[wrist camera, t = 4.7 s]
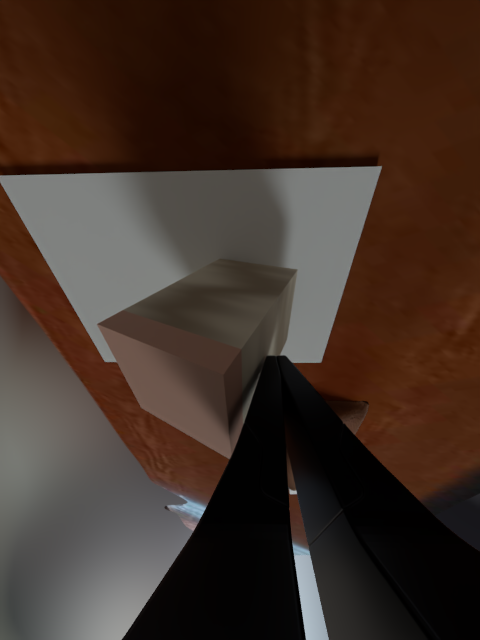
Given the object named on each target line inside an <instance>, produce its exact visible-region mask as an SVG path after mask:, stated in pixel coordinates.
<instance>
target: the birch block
mask: <svg viewBox="0 0 480 640" xmlns="http://www.w3.org/2000/svg"><path fill="white" fill-rule="evenodd" d="M297 272H298V269H291V268H284V267H276V266H269V265H262V264H255V263H248V262H240V261H233V260H226V259H218V260H216V261H214V262H212V263H210V264H209V265H207V266H205V267H203V268H201V269H199V270H197V271H195V272H194V273H192V274H190V275H188V276H186V277H184V278H182V279H180V280H179V281H177V282H175V283H173V284H171V285H169V286H167V287H165V288H164V289H162V290H160V291H158V292H156V293H154V294H152V295H150V296H149V297H147V298H145V299H143V300H141V301H139V302H137V303H135V304H134V305H132V306H130V307H128V308H126V309H124V310H122V311H120V312H118V313H117V314H115V315H113V316H111V317H109V318H107V319H105V320H103V321H102V322H100V323H98V324H97V326H98V328H99V329H100V331H101V333H102V335H103V337H104V339H105V341H106V342H107V344H108V346H109V348H110V350H111V352H112V354H113V356H114V357H115V359H116V361H117V363H118V365H119V367H120V369H121V371H122V372H123V374H124V376H125V378H126V380H127V382H128V384H129V385H130V387H131V389H132V391H133V393H134V395H135V397H136V399H137V400H138V402H139V404H140V406H141V408H143V409H144V410H146V411H148V412H149V413H151V414H153V415H155V416H156V417H158V418H160V419H161V420H163V421H165V422H167V423H168V424H170V425H172V426H174V427H175V428H177V429H179V430H180V431H182V432H184V433H186V434H187V435H189V436H191V437H192V438H194V439H196V440H198V441H199V442H201V443H203V444H204V445H206V446H208V447H210V448H211V449H213V450H215V451H216V452H218V453H220V454H222V455H223V456H225V457H227V458H228V459H230V457H231V455H232V453H233V451H234V448H235V446H236V443H237V441H238V438H239V435H240V433H241V430H242V427H243V424H244V421H245V418H246V415H247V412H248V409H249V406H250V403H251V400H252V397H253V394H254V391H255V388H256V386H257V383H258V380H259V377H260V374H261V371H262V368H263V365H264V362H265V359H266V356H267V355H275V356H277V355H280V354H281V352H282V350H283V347H284V345H285V343H286V341H287V337H288V330H289V324H290V317H291V311H292V304H293V298H294V291H295V285H296V278H297Z"/></svg>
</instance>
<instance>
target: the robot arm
mask: <svg viewBox="0 0 480 640" xmlns="http://www.w3.org/2000/svg"><path fill="white" fill-rule="evenodd" d="M286 446H287V450H288V455H289V459H290V464H291V468H292V473H293V477H294V482H295V487H296V491H297V496H298V500H299V505H300V509H301V514H302V518H303V523H304V528H305V532H306V537H307V541H308V545H309V551H310V555H311V560H312V564H313V569H314V573H315V578H316V583H317V587H318V592H319V596H320V601H321V605H322V610H323V614H324V619H325V623H326V628H327V632H328V637H329V640H480V551H478V550H477V549H475V548H474V547H472V546H471V545H469V544H468V543H467V542H465V541H464V540H463V539H461V538H460V537H458V536H457V535H456V534H455V533H454V532H452V531H451V530H450V529H449V528H447V527H446V526H445V525H444V524H443V523H442V522H441V521H440V520H438V519H437V518H436V517H435V516H434V515H433V514H432V513H431V512H430V511H429V510H428V509H427V508H426V507H425V506H424V505H423V504H422V503H421V502H420V501H419V500H418V499H417V498H416V497H415V496H414V495H413V494H412V493H411V492H410V491H409V490H408V489H407V488H406V487H405V486H404V485H403V484H402V483H401V482H400V481H399V480H398V479H397V478H396V477H395V476H394V475H393V474H392V473H391V472H390V471H388V470H387V469H386V468H385V467H384V466H383V465H382V464H381V462H380V461H379V460H378V459H377V458H376V457H375V456H374V455H373V454H372V453H371V452H370V451H369V450H368V449H367V448H366V447H365V446H364V445H363V444H362V443H361V441H360V440H359V439H358V438H357V437H356V436H355V435H354V434H353V433H352V431H351V430H350V429H349V428H348V427H347V426H346V424H343V421H342V420H341V419H340V418H339V416H338V415H337V414H336V413H335V412H334V411H333V409H332V408H331V407H330V406H329V405H328V404H327V403H326V401H325V400H324V399H323V398H322V397H321V396H320V394H319V393H318V392H317V391H316V390H315V389H314V387H313V386H312V385H311V384H310V383H309V382H308V381H307V379H306V378H305V377H304V376H303V375H302V374H301V372H300V371H299V370H298V369H297V368H296V367H295V365H294V364H293V363H292V362H291V361H290V360H289V358H288V357H287V356H285V355H277V356H275V355H267V356H266V359H265V362H264V365H263V368H262V371H261V374H260V377H259V380H258V383H257V386H256V388H255V391H254V394H253V397H252V400H251V403H250V406H249V409H248V412H247V415H246V418H245V421H244V424H243V427H242V430H241V433H240V435H239V438H238V441H237V443H236V446H235V448H234V451H233V453H232V455H231V457H230V460H229V462H228V464H227V466H226V468H225V470H224V472H223V474H222V476H221V479H220V481H219V483H218V485H217V487H216V489H215V491H214V493H213V495H212V497H211V499H210V501H209V503H208V505H207V507H206V509H205V511H204V513H203V515H202V517H201V519H200V521H199V523H198V524H197V526H196V528H195V530H194V532H193V533H192V535H191V537H190V538H189V540H188V541H187V543H186V544H185V546H184V547H183V549H182V551H181V552H180V554H179V555H178V556H177V558H176V559H175V561H174V563H173V564H172V566H171V567H170V568H169V570H168V572H167V573H166V575H165V576H164V578H163V579H162V581H161V582H160V584H159V585H158V587H157V588H156V590H155V591H154V593H153V594H152V596H151V597H150V599H149V600H148V602H147V603H146V605H145V606H144V608H143V609H142V611H141V612H140V614H139V615H138V617H137V618H136V620H135V621H134V623H133V624H132V626H131V627H130V629H129V630H128V632H127V633H126V635H125V636H124V637H123V639H122V640H306V638H305V630H304V624H303V617H302V610H301V602H300V595H299V589H298V581H297V574H296V567H295V560H294V553H293V545H292V536H291V526H290V511H289V493H288V475H287V458H286Z"/></svg>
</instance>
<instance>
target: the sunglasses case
mask: <svg viewBox="0 0 480 640" xmlns="http://www.w3.org/2000/svg"><path fill="white" fill-rule="evenodd" d="M326 403H327V404H328V405H329V406H330V407H331V408H332V409H333V411H334V412H335V413H336V414H337V415H338V416H339V418H340V419H341V420H342V421H343V424H346V426H347V427H348V428H349V429H350V430H351V431H352V433H353V434H354V435H355V434H356V432H357V431H358V428H359V427H360V425H361V423H362V421H363V420H364V418H365V415H366V414H367V411H368V407H369V404H368V403H367V402H365V401H358V402H346V401H326ZM286 458H287V475H288V488H289V489H290V490H292V491H296V487H295V482H294V477H293V473H292V468H291V464H290V459H289V455H288V450H287V446H286Z"/></svg>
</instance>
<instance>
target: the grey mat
mask: <svg viewBox="0 0 480 640" xmlns="http://www.w3.org/2000/svg"><path fill="white" fill-rule="evenodd" d="M381 168H382V166H377V167H336V168H295V169H254V170H213V171H172V172H131V173H89V174H48V175H7V176H0V183H1V184H2V186H3V188H4V190H5V191H6V193H7V195H8V196H9V198H10V200H11V202H12V203H13V205H14V207H15V208H16V210H17V212H18V214H19V215H20V217H21V219H22V220H23V222H24V224H25V226H26V227H27V229H28V231H29V232H30V234H31V236H32V238H33V239H34V241H35V243H36V244H37V246H38V248H39V250H40V251H41V253H42V255H43V256H44V258H45V260H46V262H47V263H48V265H49V267H50V268H51V270H52V272H53V274H54V275H55V277H56V279H57V280H58V282H59V284H60V286H61V287H62V289H63V291H64V292H65V294H66V296H67V298H68V299H69V301H70V303H71V304H72V306H73V308H74V310H75V311H76V313H77V315H78V316H79V318H80V320H81V322H82V323H83V325H84V327H85V328H86V330H87V332H88V334H89V335H90V337H91V339H92V340H93V342H94V344H95V345H96V347H97V349H98V351H99V352H100V354H101V356H102V357H103V359H104V361H105V362H117V361H116V359H115V357H114V356H113V354H112V352H111V350H110V348H109V346H108V344H107V342H106V341H105V339H104V337H103V335H102V333H101V331H100V329H99V328H98V326H97V324H98V323H100V322H102V321H103V320H105V319H107V318H109V317H111V316H113V315H115V314H117V313H118V312H120V311H122V310H124V309H126V308H128V307H130V306H132V305H134V304H135V303H137V302H139V301H141V300H143V299H145V298H147V297H149V296H150V295H152V294H154V293H156V292H158V291H160V290H162V289H164V288H165V287H167V286H169V285H171V284H173V283H175V282H177V281H179V280H180V279H182V278H184V277H186V276H188V275H190V274H192V273H194V272H195V271H197V270H199V269H201V268H203V267H205V266H207V265H209V264H210V263H212V262H214V261H216V260H218V259H226V260H233V261H240V262H248V263H255V264H262V265H269V266H276V267H284V268H291V269H298V272H297V278H296V285H295V291H294V298H293V304H292V311H291V317H290V324H289V330H288V337H287V341H286V343H285V345H284V347H283V350H282V352H281V354H280V355H285V356H287V357H288V358H289V360H290V361H291V362H292V363H321V361H322V358H323V354H324V351H325V348H326V345H327V342H328V338H329V335H330V332H331V329H332V325H333V322H334V319H335V316H336V313H337V309H338V306H339V303H340V300H341V296H342V293H343V290H344V287H345V284H346V280H347V277H348V274H349V271H350V267H351V264H352V261H353V258H354V255H355V251H356V248H357V245H358V242H359V238H360V235H361V232H362V229H363V226H364V222H365V219H366V216H367V213H368V209H369V206H370V203H371V200H372V197H373V193H374V190H375V187H376V184H377V180H378V177H379V174H380V171H381Z"/></svg>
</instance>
